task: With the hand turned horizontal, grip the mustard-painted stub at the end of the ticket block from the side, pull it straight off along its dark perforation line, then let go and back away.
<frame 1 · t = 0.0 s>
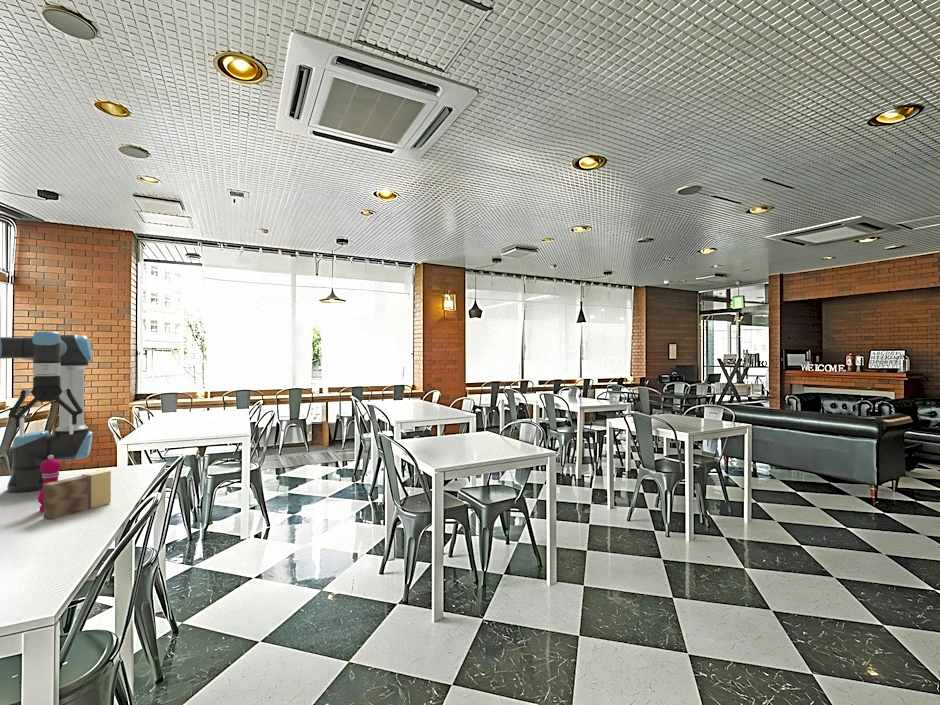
hand: (47, 435, 182), 28 cm above the table, tool pointing down, fingers open, 13 cm apart
stub: (96, 489, 193), point 6 cm above the table, slide at 0.0 cm
pepper mill: (50, 510, 188), on the table
ticket block: (66, 514, 183), on the table
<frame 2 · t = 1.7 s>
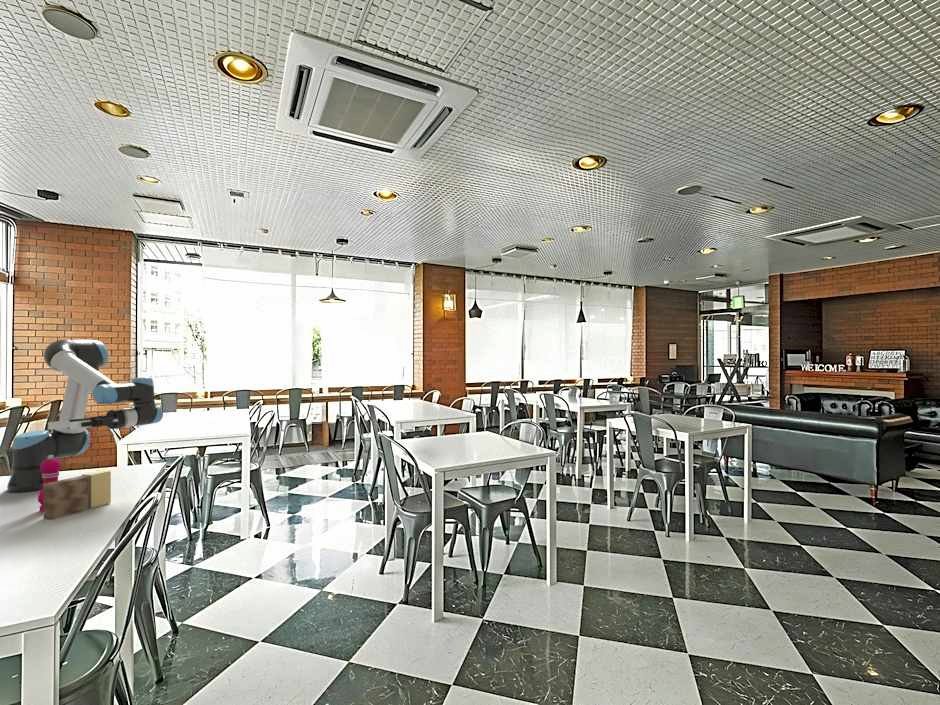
hand: (59, 426, 185), 31 cm above the table, tool horizontal, fingers open, 13 cm apart
nothing on the table moved.
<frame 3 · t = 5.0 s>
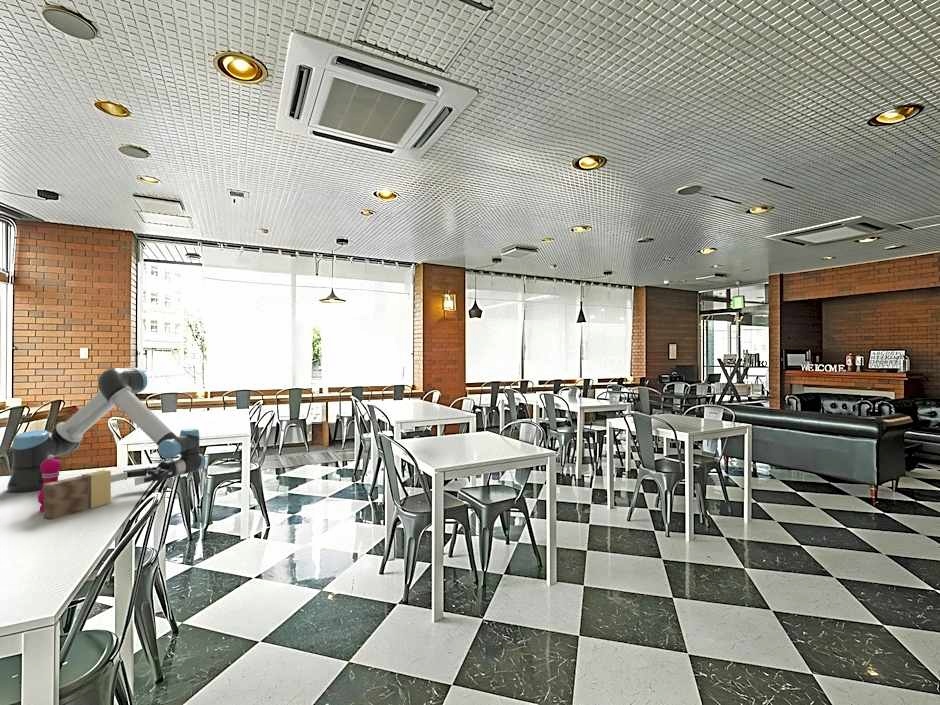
hand: (122, 480, 202), 7 cm above the table, tool horizontal, fingers open, 13 cm apart
nothing on the table moved.
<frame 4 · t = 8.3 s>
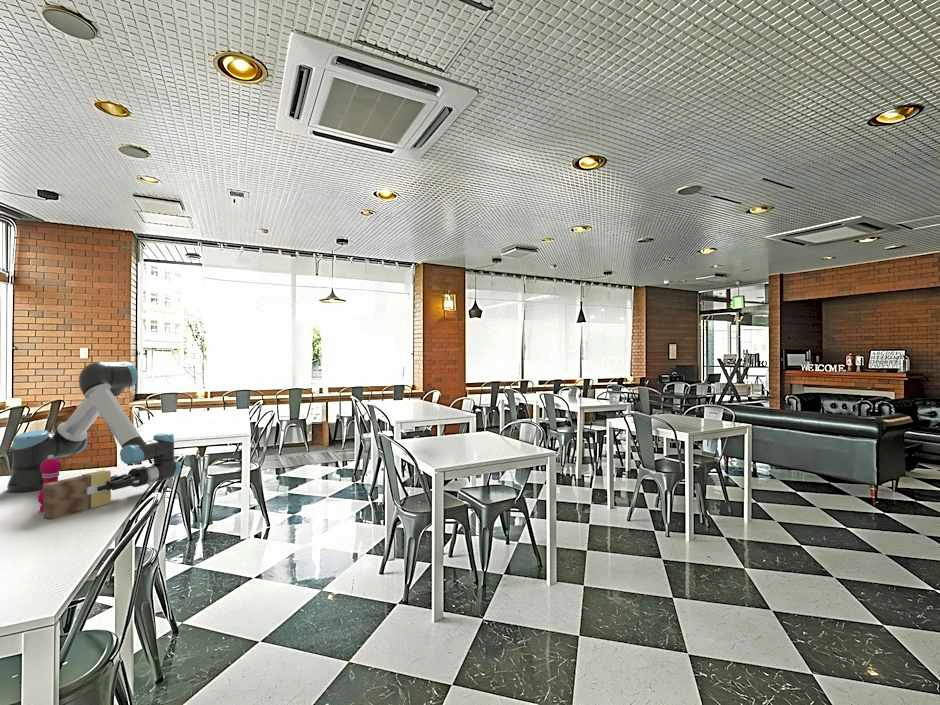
hand: (82, 490, 188), 7 cm above the table, tool horizontal, fingers closed on stub, 4 cm apart
stub: (96, 489, 193), point 6 cm above the table, slide at 0.0 cm, touching gripper
everything else where it was.
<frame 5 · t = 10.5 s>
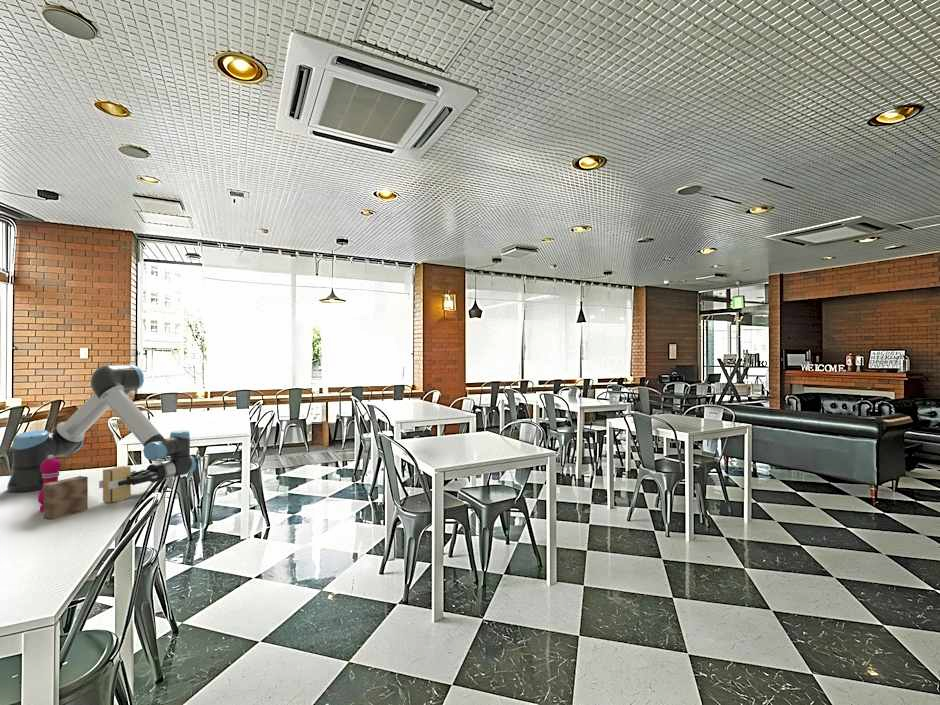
hand: (104, 485, 195), 7 cm above the table, tool horizontal, fingers closed on stub, 4 cm apart
stub: (117, 483, 200), point 6 cm above the table, slide at 7.9 cm, touching gripper
everything else where it was.
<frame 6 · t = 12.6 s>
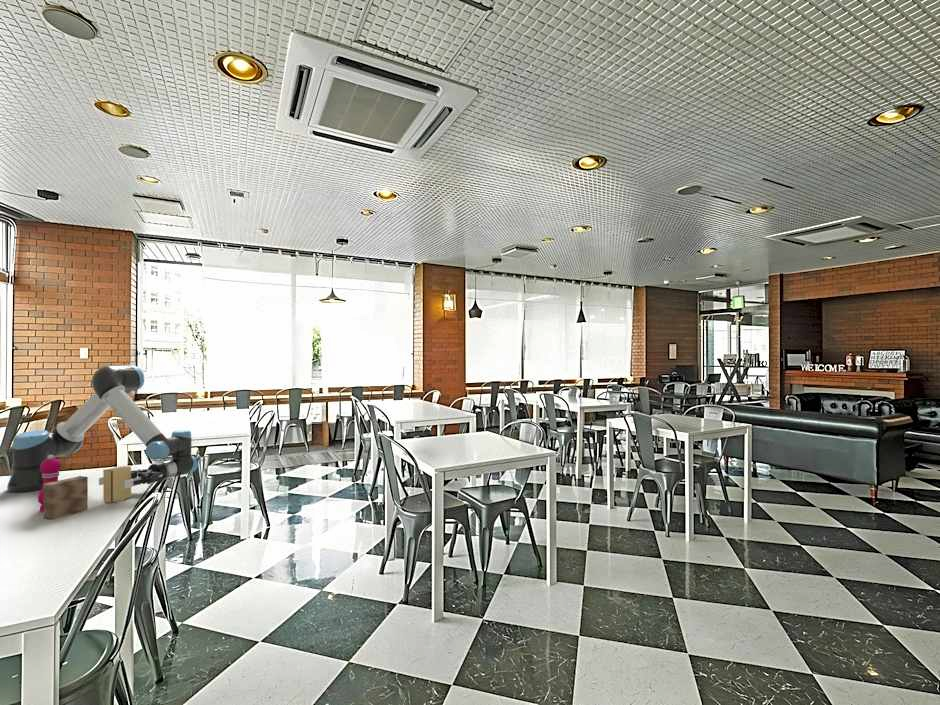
hand: (111, 483, 198), 7 cm above the table, tool horizontal, fingers open, 13 cm apart
stub: (117, 483, 200), point 6 cm above the table, slide at 8.0 cm
everything else where it was.
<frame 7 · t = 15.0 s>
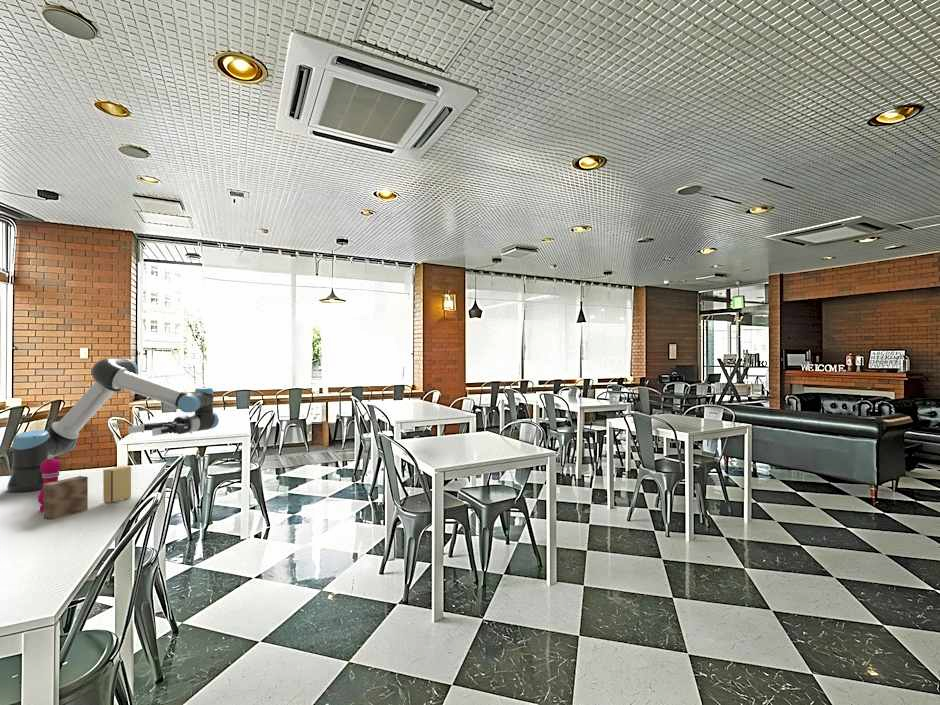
hand: (140, 431, 209), 25 cm above the table, tool horizontal, fingers open, 13 cm apart
nothing on the table moved.
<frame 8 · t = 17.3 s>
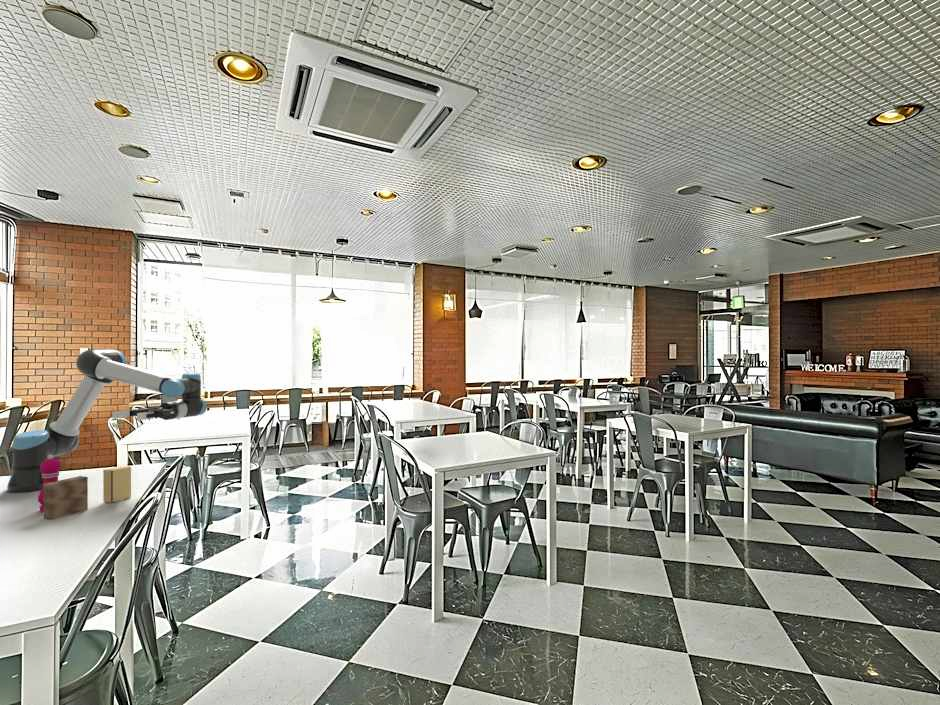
hand: (125, 416, 204), 32 cm above the table, tool horizontal, fingers open, 13 cm apart
nothing on the table moved.
at the end: stub slide at 8.0 cm; the gripper is holding nothing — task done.
